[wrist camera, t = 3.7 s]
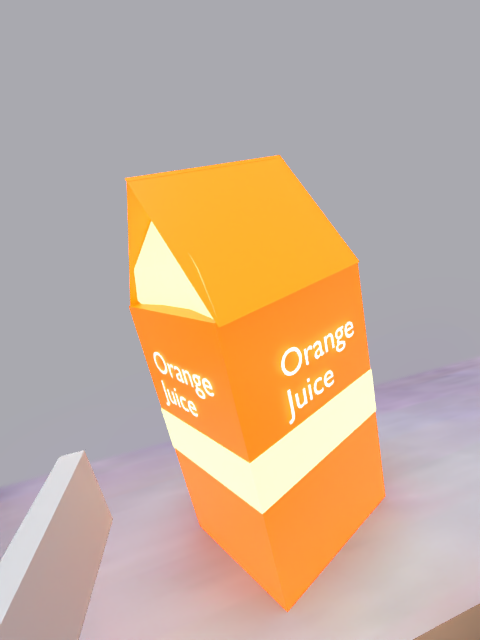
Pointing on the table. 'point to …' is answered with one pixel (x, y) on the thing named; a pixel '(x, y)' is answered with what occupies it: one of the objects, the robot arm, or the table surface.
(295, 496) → the orange juice
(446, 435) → the table surface
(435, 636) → the board
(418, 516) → the table surface
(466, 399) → the table surface
